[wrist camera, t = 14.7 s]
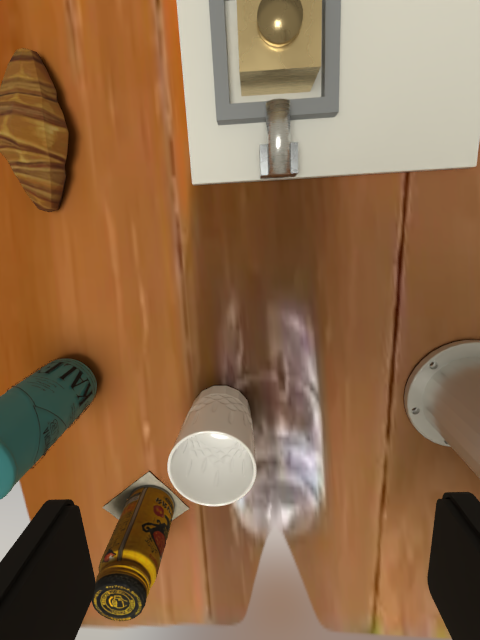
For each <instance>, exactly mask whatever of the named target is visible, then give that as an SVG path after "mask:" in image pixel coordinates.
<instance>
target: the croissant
mask: <svg viewBox="0 0 480 640" xmlns="http://www.w3.org/2000/svg"><path fill="white" fill-rule="evenodd" d="M68 136H69V133H68V129H67V126H66V122H65V119H64V116H63V112H62V110H61V108H60V106H59V104H58V99H57V92H56V89H55V87H54V85H53V82H52V80H51V78H50V76H49V74H48V72H47V70H46V68H45V66H44V64H43V62H42V60H41V58H40V56H39V55H38V53H37V52H35V51H32V50H29V49H25V48H21V49H18V50H16V52H15V53H14V55H13V57H12V58H11V60H10V62H9V64H8V66H7V69H6V72H5V75H4V78H3V81H2V84H1V87H0V152H1V153H2V155H3V156H4V157H5V158H6V159H7V160H8V162H9V164H10V166H11V168H12V170H13V172H14V173H15V175H16V177H17V178H18V180H19V181H20V183H21V185H22V186H23V188H24V190H25V191H26V193H27V195H28V196H29V197H30V198H31V200H32V201H33V202H34V204H35V205H36V206H37V208H38V209H40V210H43V211H47V212H51V211H55V210H58V209H59V207H60V204H61V200H62V197H63V193H64V188H65V182H66V172H65V162H66V157H67V150H68Z"/></svg>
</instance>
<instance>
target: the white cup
mask: <svg viewBox="0 0 480 640" xmlns="http://www.w3.org/2000/svg"><path fill="white" fill-rule="evenodd" d="M167 467H168V475H169V478H170V480H171V482H172V484H173V486H174V487H175V489H176V490H177V491H178V492H179V493H180V494H181V495H183V496H184V497H185V498H187V499H188V500H190V501H192V502H195V503H197V504H201V505H205V506H223V505H227V504H231V503H233V502H235V501H237V500H239V499H241V498H242V497H243V496H244V495H246V494H247V493H248V491H249V490H250V489H251V487H252V486H253V483H254V481H255V478H256V459H255V445H254V435H253V426H252V419H251V411H250V408H249V404H248V400H247V399H246V398H245V397H244V396H243V395H242V394H241V393H240V391H238V390H236V389H234V388H231V387H229V386H212V387H210V388H207V389H205V390H203V391H202V392H201V393H200V394H199V395H198V397H197V398H196V399H195V400H194V402H193V405H192V407H191V409H190V411H189V412H188V414H187V417H186V419H185V421H184V423H183V425H182V427H181V430H180V432H179V434H178V437H177V439H176V441H175V444H174V446H173V448H172V451H171V453H170V455H169V459H168V466H167Z"/></svg>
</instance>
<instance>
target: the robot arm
mask: <svg viewBox="0 0 480 640" xmlns="http://www.w3.org/2000/svg"><path fill="white" fill-rule="evenodd" d="M404 406H405V410H406V413H407V416H408V418H409V420H410V421H411V423H412V424H413V426H414V427H415V428H416V429H417V431H418V432H419V433H421V434H422V435H423V436H424V437H425V438H427V439H429V440H430V441H432V442H434V443H437V444H440V445H443V446H448V447H452V448H453V450H454V451H455V452H456V453H457V454H458V455H459V456H460V457H461V458H462V460H463V461H464V462H465V463H466V464H467V465H468V466H469V467H470V469H471V470H472V471H473V472H474V473H475V474H476V475H477V476H478V477H479V479H480V340H463V341H457V342H453V343H450V344H447V345H444V346H442V347H440V348H438V349H437V350H435V351H433V352H431V353H430V354H429V355H428V356H426V357H425V358H424V359H423V360H422V361H421V362H420V363H419V364H418V365H417V366H416V367H415V369H414V370H413V372H412V374H411V375H410V377H409V379H408V382H407V385H406V388H405V394H404ZM428 586H429V590H430V593H431V596H432V598H433V600H434V602H435V604H436V606H437V608H438V610H439V612H440V615H441V617H442V619H443V621H444V623H445V625H446V627H447V629H448V631H449V633H450V635H451V637H452V639H453V640H480V502H479V501H478V499H477V498H476V497H475V496H474V495H473V494H472V493H470V492H449V493H444V495H443V498H442V499H438V500H437V503H436V512H435V520H434V528H433V537H432V545H431V553H430V561H429V570H428ZM94 591H95V577H94V572H93V568H92V563H91V558H90V554H89V549H88V545H87V540H86V536H85V531H84V527H83V522H82V518H81V513H80V509H79V507H78V506H77V505H74V503H73V501H72V500H69V499H68V500H48V501H46V502H45V503H44V505H43V506H42V507H41V509H40V510H39V511H38V513H37V514H36V515H35V517H34V518H33V519H32V521H31V522H30V523H29V525H28V526H27V527H26V529H25V530H24V531H23V533H22V534H21V535H20V537H19V538H18V539H17V541H16V542H15V543H14V545H13V546H12V548H11V549H10V550H9V551H8V553H7V554H6V556H5V557H4V558H3V559H2V561H1V562H0V640H75V637H76V635H77V633H78V630H79V628H80V626H81V623H82V621H83V619H84V616H85V614H86V612H87V609H88V607H89V605H90V602H91V600H92V598H93V595H94Z"/></svg>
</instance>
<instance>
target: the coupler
mask: <svg viewBox="0 0 480 640" xmlns="http://www.w3.org/2000/svg"><path fill="white" fill-rule="evenodd" d="M237 25H238V49H239V73H240V85H241V96H254V95H269V94H284V93H299V92H310V91H311V88H312V86H313V84H314V81H315V79H316V77H317V74H318V72H319V70H320V68H321V33H322V0H237Z"/></svg>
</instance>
